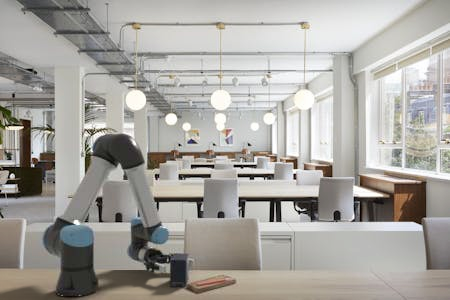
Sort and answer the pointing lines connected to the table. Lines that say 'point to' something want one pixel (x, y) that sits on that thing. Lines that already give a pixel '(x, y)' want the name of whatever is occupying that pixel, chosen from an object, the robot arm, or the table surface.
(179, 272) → the small box
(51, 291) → the table surface
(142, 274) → the table surface
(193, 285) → the wooden board
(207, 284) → the carpenter pencil
